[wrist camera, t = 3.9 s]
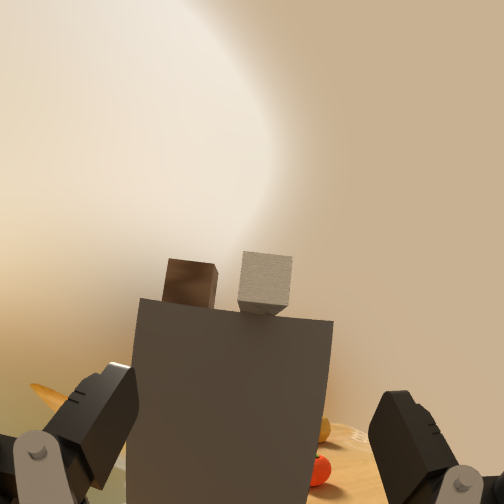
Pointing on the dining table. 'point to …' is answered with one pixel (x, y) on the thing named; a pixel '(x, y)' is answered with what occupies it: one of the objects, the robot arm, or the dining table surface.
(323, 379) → the stand
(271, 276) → the rod
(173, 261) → the walnut block
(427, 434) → the robot arm
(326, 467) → the tomato
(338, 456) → the dining table surface
